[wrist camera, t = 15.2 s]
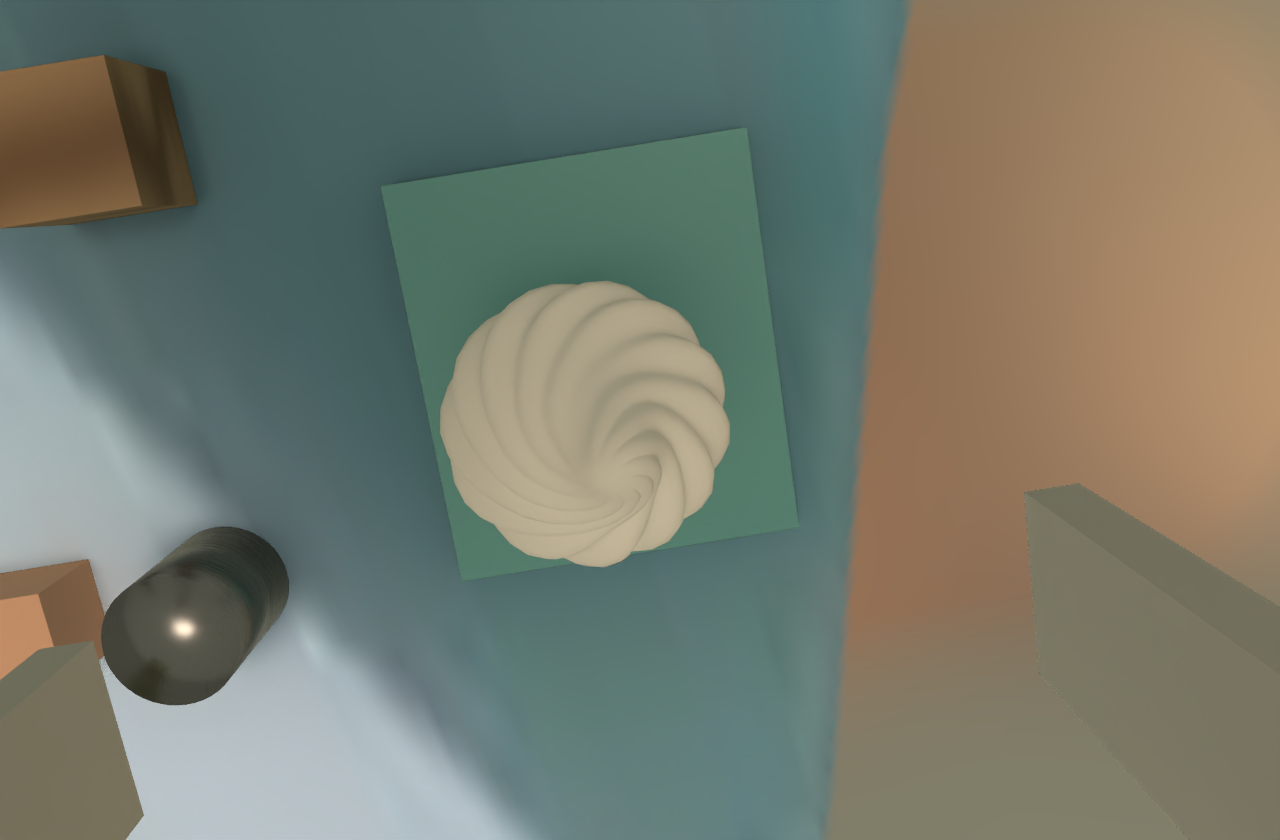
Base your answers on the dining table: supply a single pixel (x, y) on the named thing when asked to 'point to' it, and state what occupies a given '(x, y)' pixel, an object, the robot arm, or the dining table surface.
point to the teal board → (618, 252)
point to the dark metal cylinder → (195, 616)
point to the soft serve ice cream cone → (585, 422)
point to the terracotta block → (47, 611)
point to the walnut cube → (88, 143)
